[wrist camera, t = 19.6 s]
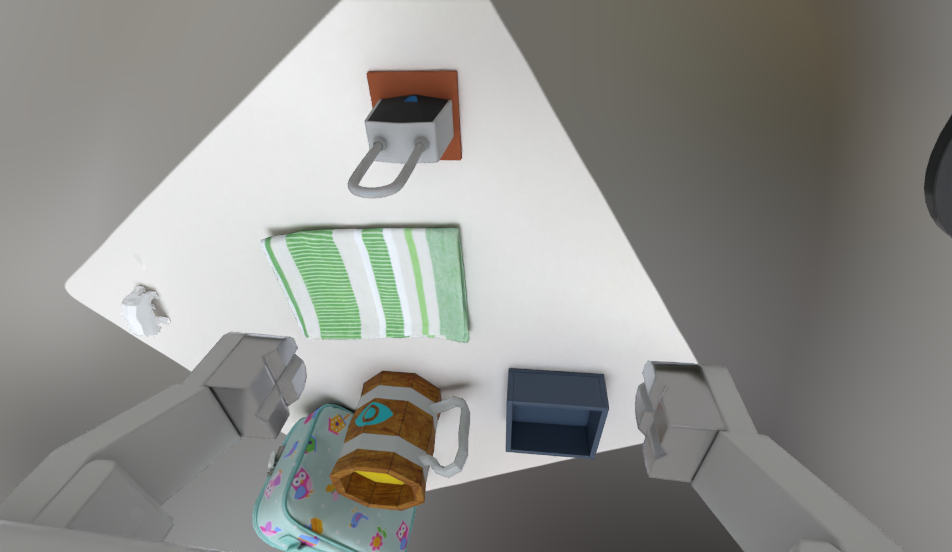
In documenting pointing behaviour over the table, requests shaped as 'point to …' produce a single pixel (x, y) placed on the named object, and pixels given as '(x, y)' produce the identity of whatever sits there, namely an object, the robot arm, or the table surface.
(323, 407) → the lunch box
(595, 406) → the basket
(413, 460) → the mug
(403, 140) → the padlock
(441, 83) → the mat
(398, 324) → the dish towel
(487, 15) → the table surface
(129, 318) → the figurine
